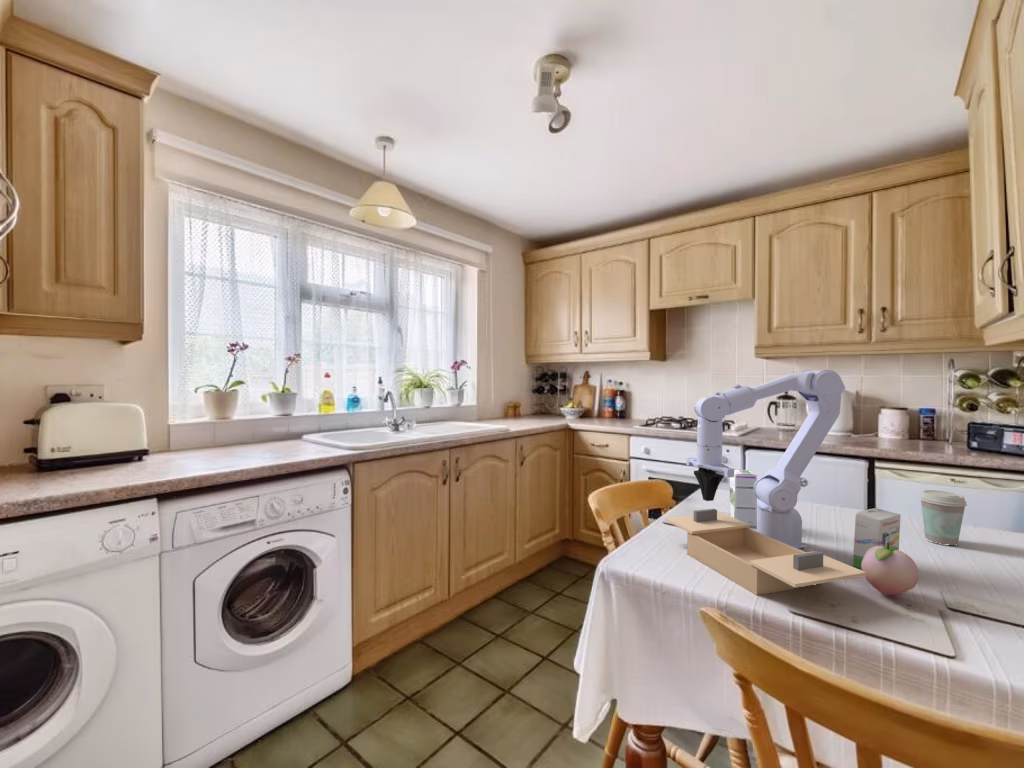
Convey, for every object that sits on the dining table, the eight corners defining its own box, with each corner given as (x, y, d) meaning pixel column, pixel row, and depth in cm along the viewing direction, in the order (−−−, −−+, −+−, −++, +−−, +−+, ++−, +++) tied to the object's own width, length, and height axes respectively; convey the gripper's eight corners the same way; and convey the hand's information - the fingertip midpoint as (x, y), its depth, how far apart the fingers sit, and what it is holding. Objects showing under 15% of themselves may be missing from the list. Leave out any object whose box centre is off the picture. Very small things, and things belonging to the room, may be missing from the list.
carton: (743, 546, 109) (743, 526, 109) (821, 584, 90) (822, 559, 89) (687, 554, 104) (687, 532, 104) (756, 595, 85) (757, 569, 85)
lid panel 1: (719, 514, 117) (719, 502, 117) (750, 527, 107) (750, 514, 107) (664, 520, 112) (665, 507, 112) (691, 534, 102) (691, 520, 102)
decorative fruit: (917, 613, 79) (919, 556, 79) (858, 597, 85) (860, 544, 84) (918, 594, 86) (920, 541, 86) (864, 580, 91) (865, 531, 91)
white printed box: (757, 527, 122) (758, 474, 122) (734, 525, 124) (734, 473, 123) (750, 520, 128) (751, 469, 128) (728, 519, 129) (729, 468, 129)
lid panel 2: (814, 554, 91) (815, 539, 91) (866, 575, 82) (866, 558, 82) (748, 563, 87) (749, 547, 86) (795, 587, 77) (795, 569, 77)
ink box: (872, 558, 102) (873, 506, 102) (900, 567, 98) (901, 513, 97) (851, 566, 98) (852, 512, 98) (879, 575, 94) (881, 519, 93)
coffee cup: (927, 545, 110) (929, 496, 110) (912, 533, 118) (913, 488, 118) (973, 550, 107) (975, 500, 106) (954, 538, 115) (955, 491, 114)
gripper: (676, 441, 117) (675, 493, 117) (717, 451, 103) (715, 510, 104) (699, 440, 119) (698, 491, 119) (742, 449, 105) (740, 507, 106)
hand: (708, 500), depth 112 cm, fingers closed
